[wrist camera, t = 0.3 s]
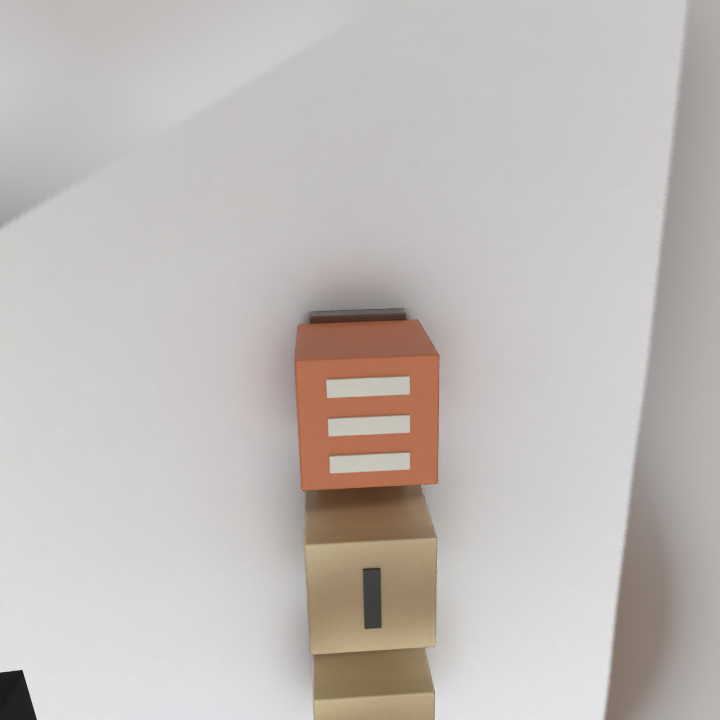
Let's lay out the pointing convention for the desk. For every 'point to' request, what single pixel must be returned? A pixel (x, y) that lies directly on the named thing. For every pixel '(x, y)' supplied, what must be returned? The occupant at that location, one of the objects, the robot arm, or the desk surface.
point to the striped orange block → (366, 404)
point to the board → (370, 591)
